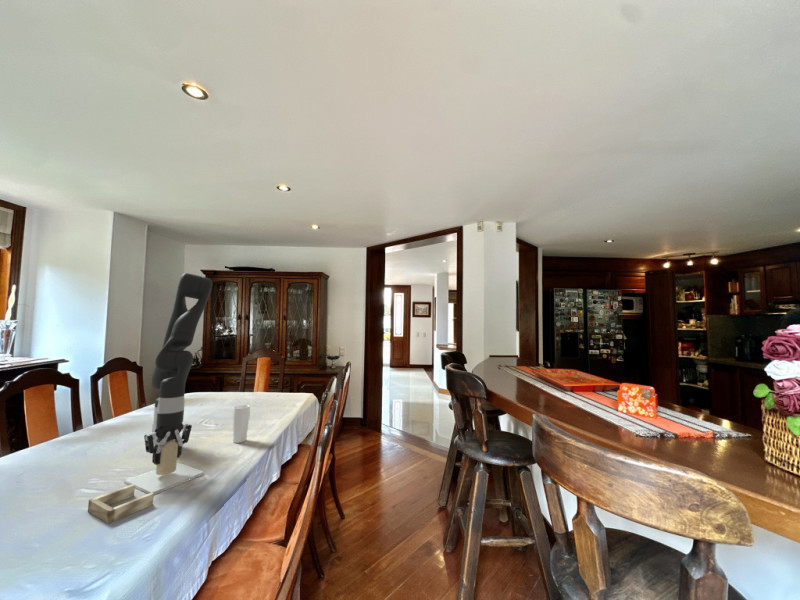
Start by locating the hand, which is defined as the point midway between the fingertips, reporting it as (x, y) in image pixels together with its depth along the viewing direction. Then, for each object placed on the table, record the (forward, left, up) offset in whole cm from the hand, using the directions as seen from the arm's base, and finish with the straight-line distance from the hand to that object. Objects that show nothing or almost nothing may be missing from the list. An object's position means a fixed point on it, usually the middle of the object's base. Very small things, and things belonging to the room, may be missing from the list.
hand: (166, 460), depth 108 cm
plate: (0, 0, -6) cm, 6 cm away
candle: (0, 0, -4) cm, 4 cm away
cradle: (+8, -15, -6) cm, 18 cm away
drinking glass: (-9, +35, -6) cm, 37 cm away
